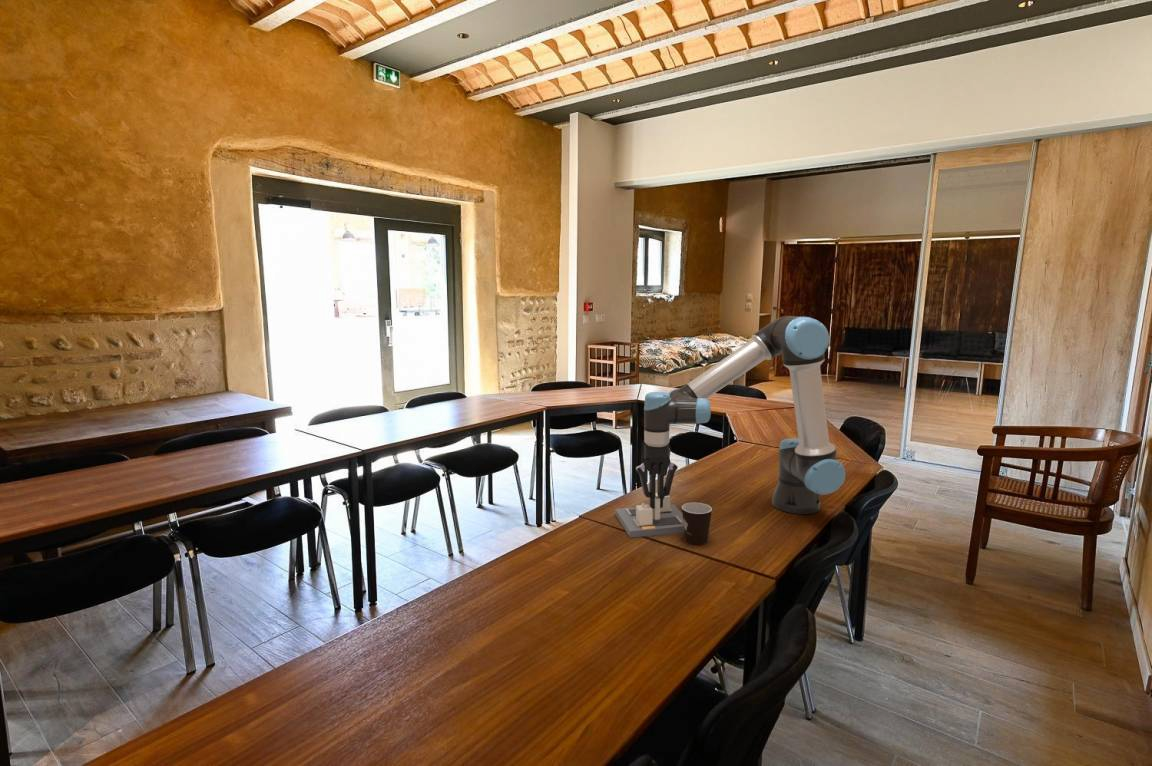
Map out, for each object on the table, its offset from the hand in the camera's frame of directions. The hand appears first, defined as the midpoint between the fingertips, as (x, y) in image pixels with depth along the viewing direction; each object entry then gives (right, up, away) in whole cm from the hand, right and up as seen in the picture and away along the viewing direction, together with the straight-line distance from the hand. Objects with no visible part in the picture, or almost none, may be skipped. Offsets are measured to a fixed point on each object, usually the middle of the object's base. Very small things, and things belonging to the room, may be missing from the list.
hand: (656, 517), depth 174 cm
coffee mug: (+11, -5, -7) cm, 14 cm away
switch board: (0, -3, +5) cm, 6 cm away
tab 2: (-4, -1, 0) cm, 4 cm away
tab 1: (+3, 0, +10) cm, 10 cm away
